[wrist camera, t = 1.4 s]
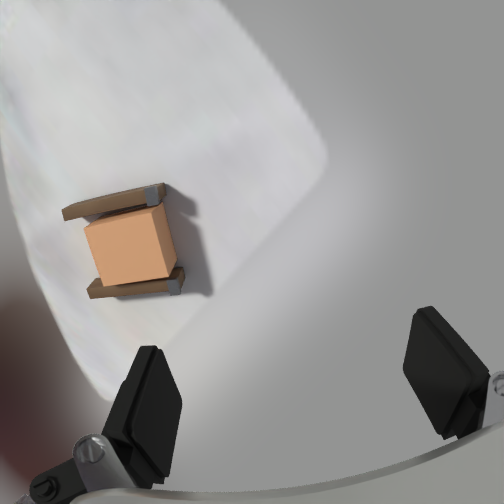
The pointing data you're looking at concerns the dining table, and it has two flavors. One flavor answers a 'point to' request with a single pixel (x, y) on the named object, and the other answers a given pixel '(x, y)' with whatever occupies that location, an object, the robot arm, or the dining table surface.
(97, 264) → the light orange block
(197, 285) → the dining table surface
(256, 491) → the robot arm
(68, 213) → the brown wooden rail pair
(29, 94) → the dining table surface
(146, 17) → the dining table surface
